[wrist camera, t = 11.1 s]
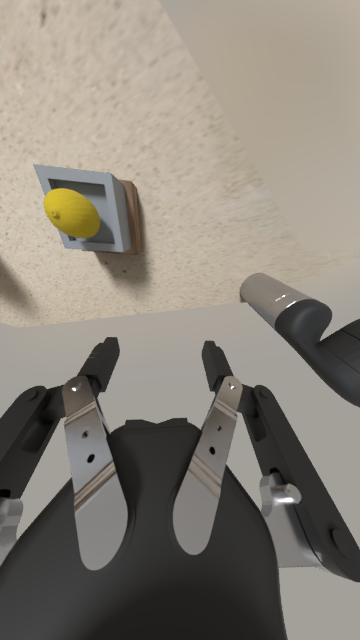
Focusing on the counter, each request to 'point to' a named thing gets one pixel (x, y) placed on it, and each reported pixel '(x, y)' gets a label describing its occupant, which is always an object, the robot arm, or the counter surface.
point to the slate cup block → (105, 199)
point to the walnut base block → (130, 219)
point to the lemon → (72, 213)
